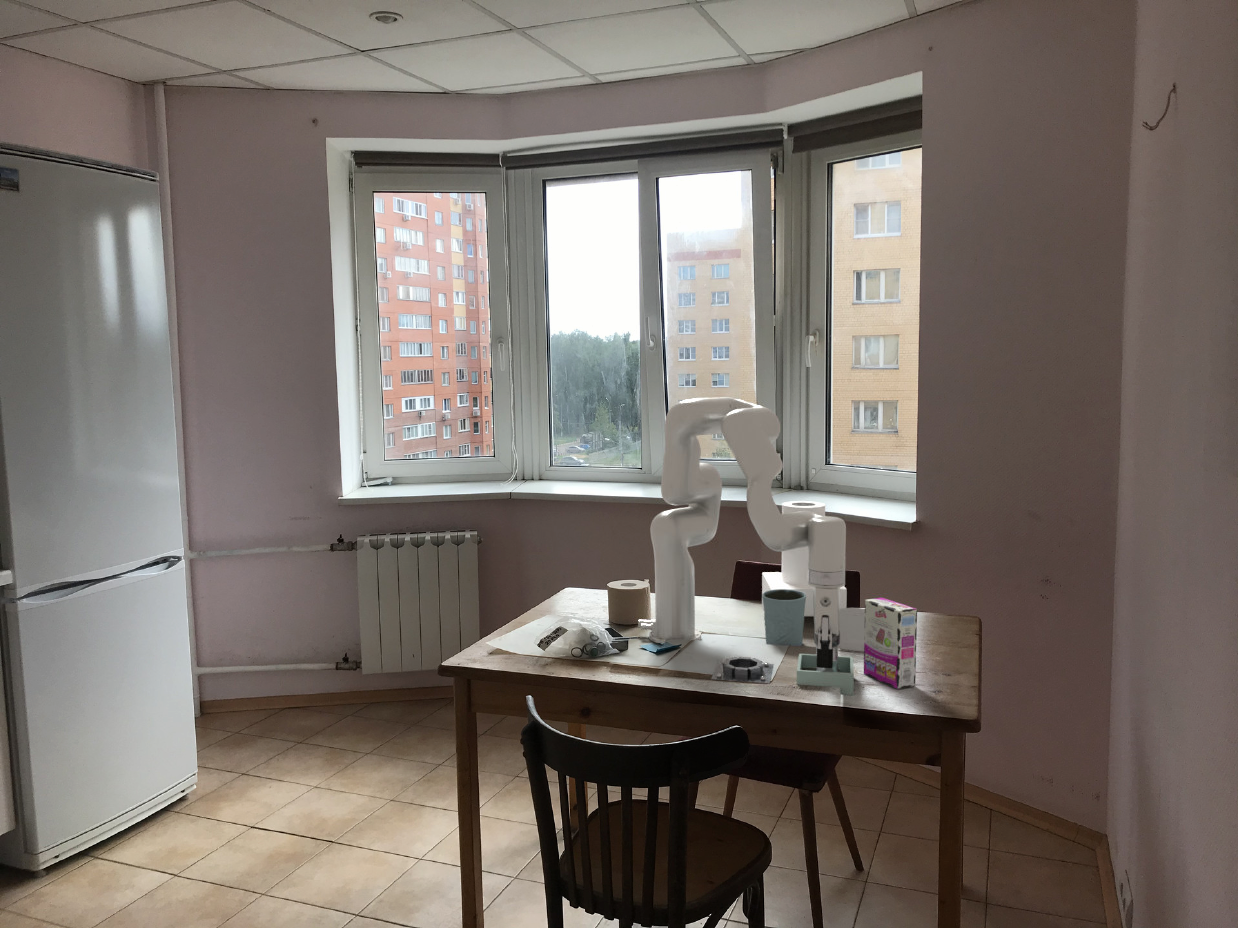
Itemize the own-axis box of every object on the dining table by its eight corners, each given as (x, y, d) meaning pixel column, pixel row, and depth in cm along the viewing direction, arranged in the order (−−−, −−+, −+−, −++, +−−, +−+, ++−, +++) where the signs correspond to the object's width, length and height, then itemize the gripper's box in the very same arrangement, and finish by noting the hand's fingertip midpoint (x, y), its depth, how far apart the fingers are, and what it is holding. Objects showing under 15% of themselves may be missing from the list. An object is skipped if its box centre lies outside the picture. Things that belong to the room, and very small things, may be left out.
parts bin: (796, 691, 188) (796, 670, 187) (799, 672, 199) (799, 653, 198) (853, 694, 185) (853, 674, 185) (852, 676, 196) (853, 656, 195)
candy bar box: (917, 686, 190) (918, 608, 188) (897, 690, 188) (899, 611, 186) (881, 670, 200) (882, 596, 198) (862, 673, 198) (863, 598, 196)
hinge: (818, 646, 217) (822, 603, 219) (822, 647, 221) (825, 605, 223) (892, 654, 210) (895, 610, 212) (895, 655, 214) (897, 612, 216)
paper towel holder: (770, 628, 232) (771, 510, 229) (762, 608, 251) (762, 499, 247) (846, 628, 231) (847, 509, 228) (831, 608, 250) (833, 498, 247)
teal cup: (803, 637, 224) (803, 589, 222) (807, 650, 214) (808, 599, 212) (761, 636, 225) (761, 588, 223) (763, 649, 215) (763, 599, 213)
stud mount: (711, 685, 191) (711, 670, 191) (718, 667, 203) (718, 652, 203) (769, 689, 189) (769, 674, 188) (773, 670, 200) (773, 655, 200)
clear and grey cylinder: (831, 681, 188) (831, 636, 187) (809, 675, 192) (809, 631, 190) (844, 674, 192) (844, 630, 191) (822, 669, 195) (822, 625, 194)
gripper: (845, 587, 180) (843, 678, 182) (844, 568, 197) (843, 651, 199) (806, 586, 182) (804, 675, 184) (808, 567, 198) (807, 649, 201)
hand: (824, 662), depth 191 cm, fingers closed on clear and grey cylinder, 4 cm apart
